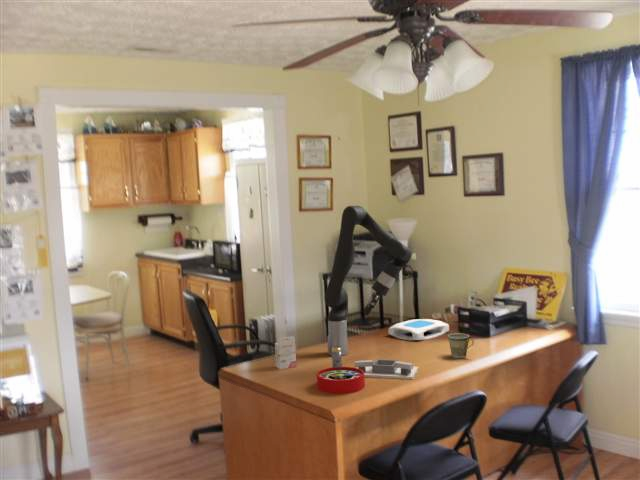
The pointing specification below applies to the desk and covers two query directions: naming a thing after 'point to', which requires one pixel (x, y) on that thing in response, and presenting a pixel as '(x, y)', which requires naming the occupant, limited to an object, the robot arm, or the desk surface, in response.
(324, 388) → the toy clock
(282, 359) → the ink cartridge box
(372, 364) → the shaft rig
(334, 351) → the gold lidded jar
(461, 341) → the ceramic cup
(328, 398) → the desk surface
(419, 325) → the white blue plastic platform
